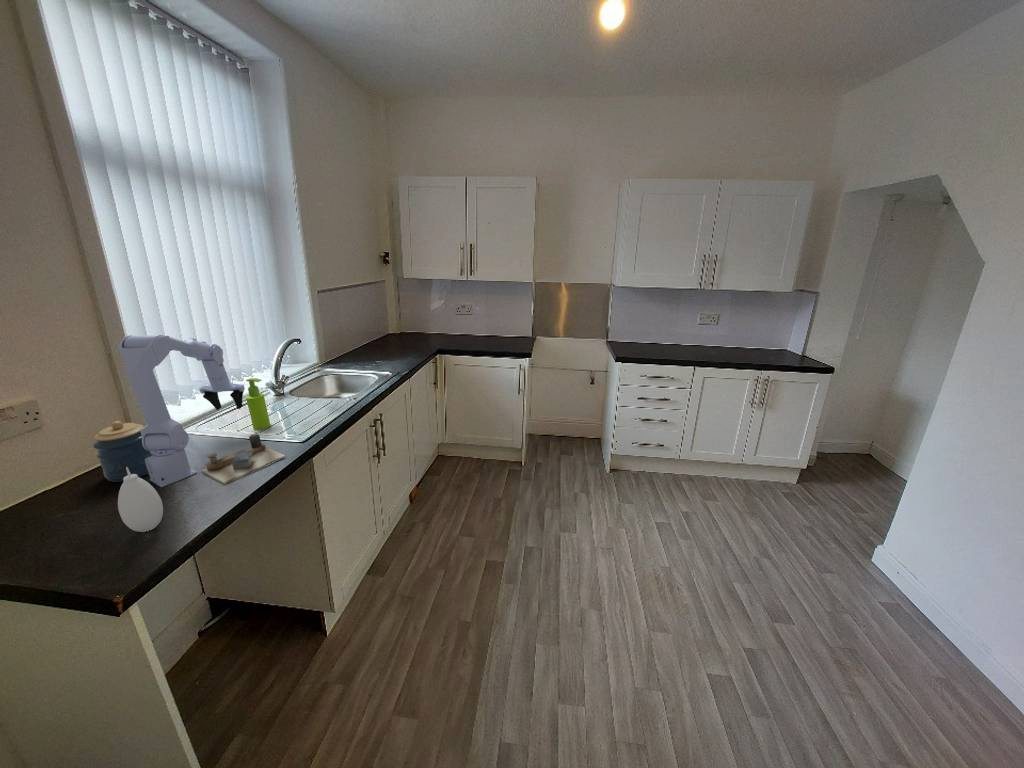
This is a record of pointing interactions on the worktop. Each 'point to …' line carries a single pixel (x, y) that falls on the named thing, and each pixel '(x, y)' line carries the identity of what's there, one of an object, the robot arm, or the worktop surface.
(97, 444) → the canister
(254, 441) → the link
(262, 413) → the soap dispenser
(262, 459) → the latch board
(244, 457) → the keeper
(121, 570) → the worktop surface
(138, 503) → the air blower bulb
